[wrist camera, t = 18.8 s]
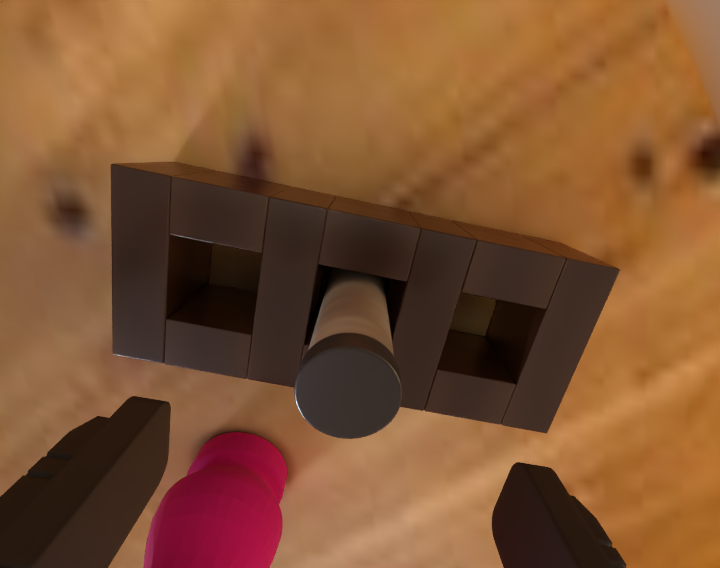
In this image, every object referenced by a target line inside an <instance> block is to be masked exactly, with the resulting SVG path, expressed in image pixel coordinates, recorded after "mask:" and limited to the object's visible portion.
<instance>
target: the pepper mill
mask: <svg viewBox="0 0 720 568" xmlns="http://www.w3.org/2000/svg"><path fill="white" fill-rule="evenodd" d="M286 479H287V467H286V463H285V461H284V458H283V456H282V455H281V453H280V451H279V450H278V449H277V448H276V447H274V446H273V445H272V444H271V443H270V442H268V441H267V440H265V439H263V438H261V437H259V436H256V435H253V434H250V433H241V432H231V433H225V434H221V435H219V436H216V437H214V438H212V439H211V440H209V441H208V442H206V443H205V444H204V445H203V446H202V448H201V449H200V451H199V453H198V454H197V456H196V458H195V460H194V461H193V463H192V465H191V467H190V469H189V471H188V473H187V476H186V477H184V478H182V479H181V480H179V481H178V482H177V483H175V484H174V485H173V486H172V487H171V488H170V489H169V490H168V492H167V493H166V494H165V496H164V497H163V499H162V501H161V503H160V505H159V507H158V509H157V511H156V513H155V515H154V517H153V519H152V523H151V527H150V530H149V534H148V538H147V543H146V550H145V557H144V568H269V567H270V565H271V563H272V561H273V559H274V556H275V553H276V550H277V547H278V544H279V541H280V538H281V533H282V514H281V510H280V507H279V503H280V501H281V499H282V495H283V491H284V487H285V483H286Z"/></svg>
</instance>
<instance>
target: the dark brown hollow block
mask: <svg viewBox="0 0 720 568" xmlns="http://www.w3.org/2000/svg"><path fill="white" fill-rule="evenodd" d="M111 230H112V328H113V354H114V355H118V356H124V357H129V358H135V359H140V360H146V361H151V362H157V363H164V364H166V365H172V366H178V367H183V368H189V369H194V370H200V371H205V372H211V373H216V374H222V375H227V376H233V377H238V378H244V379H246V378H247V379H250V380H256V381H261V382H267V383H272V384H278V385H283V386H289V387H294V388H295V382H296V378H297V375H298V371H299V368H300V365H301V362H302V360H303V358H304V356H305V354H306V353H307V352H308V349H309V346H310V342H311V339H312V335H313V332H314V328H315V325H316V322H317V318H318V315H319V311H320V308H321V305H317V301H318V296H319V290H320V285H321V279H322V274H323V268H324V265H326V266H331V267H336V268H341V269H346V270H351V271H356V272H361V273H366V274H371V275H376V276H381V277H386V278H391V279H392V280H391V284H390V288H389V292H388V296H387V300H386V304H387V311H388V317H389V324H390V331H391V338H392V345H393V352H394V357H395V359H396V361H397V364H398V367H399V371H400V377H401V383H402V401H401V405H400V407H405V408H411V409H416V410H422V411H423V410H425V411H428V412H433V413H439V414H444V415H450V416H455V417H461V418H466V419H472V420H477V421H483V422H488V423H494V424H501V425H504V426H509V427H515V428H520V429H526V430H531V431H537V432H542V433H547V432H548V430H549V428H550V425H551V423H552V421H553V419H554V416H555V414H556V412H557V410H558V407H559V405H560V403H561V401H562V398H563V396H564V394H565V392H566V390H567V387H568V385H569V383H570V381H571V378H572V376H573V374H574V372H575V369H576V367H577V365H578V363H579V361H580V358H581V356H582V354H583V352H584V349H585V347H586V345H587V343H588V340H589V338H590V336H591V334H592V331H593V329H594V327H595V325H596V323H597V320H598V318H599V316H600V314H601V311H602V309H603V307H604V305H605V302H606V300H607V298H608V296H609V293H610V291H611V289H612V287H613V285H614V282H615V280H616V278H617V276H618V273H619V271H620V269H618V268H616V267H614V266H612V265H609V264H607V263H605V262H603V261H600V260H598V259H596V258H594V257H591V256H589V255H587V254H585V253H582V252H580V251H578V250H576V249H573V248H571V247H569V246H567V245H564V244H562V243H558V242H553V241H548V240H543V239H539V238H534V237H529V236H524V235H519V234H515V233H510V232H505V231H500V230H495V229H491V228H486V227H481V226H476V225H472V224H467V223H462V222H457V221H451V220H448V219H443V218H438V217H433V216H429V215H424V214H419V213H414V212H408V211H405V210H400V209H395V208H391V207H386V206H381V205H376V204H372V203H367V202H362V201H357V200H353V199H348V198H343V197H338V196H337V197H336V196H333V195H328V194H324V193H319V192H314V191H309V190H305V189H300V188H295V187H291V186H286V185H281V184H276V183H271V182H267V181H262V180H257V179H252V178H248V177H243V176H238V175H233V174H228V173H224V172H219V171H218V172H216V171H214V170H209V169H204V168H199V167H195V166H190V165H185V164H180V163H176V162H152V163H121V164H111ZM212 243H215V244H220V245H225V246H230V247H235V248H240V249H245V250H250V251H255V252H260V253H262V260H261V268H260V276H259V284H258V292H257V293H255V292H250V291H245V290H240V289H235V288H230V287H224V286H219V285H214V284H209V271H210V258H211V245H212ZM460 292H462V293H467V294H472V295H477V296H482V297H487V298H492V299H497V300H498V302H497V305H496V308H495V311H494V314H493V317H492V319H491V322H490V325H489V328H488V331H487V334H486V337H482V336H477V335H472V334H466V333H461V332H456V331H451V330H449V328H450V325H451V321H452V318H453V315H454V312H455V308H456V305H457V302H458V299H459V295H460Z"/></svg>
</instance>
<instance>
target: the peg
mask: <svg viewBox="0 0 720 568" xmlns="http://www.w3.org/2000/svg"><path fill="white" fill-rule="evenodd" d="M294 394H295V400H296V404H297V406H298V409H299V411H300V413H301V414H302V416H303V417H304V418H305V420H306V421H307V422H308V423H309V424H310V425H312V426H313V427H314V428H315V429H317V430H319V431H320V432H322V433H325V434H327V435H330V436H333V437H337V438H345V439H353V438H361V437H366V436H369V435H372V434H374V433H376V432H378V431H380V430H381V429H383V428H384V427H385V426H387V425H388V424H389V423H390V422H391V421H392V419H393V418H394V417H395V415H396V414H397V412H398V410H399V407H400V405H401V401H402V383H401V377H400V371H399V367H398V364H397V361H396V359H395V357H394V352H393V345H392V338H391V331H390V324H389V317H388V311H387V304H386V297H385V290H384V283H383V277H381V276H376V275H371V274H366V273H361V272H356V271H351V270H346V269H341V268H336V267H333V268H332V271H331V274H330V277H329V281H328V284H327V287H326V291H325V294H324V298H323V301H322V305H321V308H320V311H319V315H318V318H317V322H316V325H315V328H314V332H313V335H312V339H311V342H310V346H309V349H308V352H307V353H306V354H305V356H304V358H303V360H302V362H301V365H300V368H299V371H298V375H297V378H296V382H295V388H294Z"/></svg>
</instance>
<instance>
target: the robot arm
mask: <svg viewBox="0 0 720 568" xmlns="http://www.w3.org/2000/svg"><path fill="white" fill-rule="evenodd" d="M170 413H171V407H170V403H169V402H166V401H160V400H154V399H148V398H143V397H137V396H132V397H130V398H129V399H128V400H126V401H125V402H124V404H123V405H122V406H121V407H120V408H119V409H118V410H117V411H116V412H115V413H114V414H113V415H112V416H111V417H110V418H106V417H100V416H97V417H95V418H93V419H92V420H90V421H88V422H86V423H84V424H83V425H81V426H79V427H77V428H75V429H73V430H72V431H70V432H69V433H68V434H67V435H65V436H64V437H63V438H62V439H61V440H60V441H59V442H58V443H57V444H56V445H55V446H54V447H53V448H52V449H51V450H50V451H49V452H48V453H47V456H46V457H42V458H41V459H40V460H39V461H38V462H37V463H36V464H35V465H34V466H33V467H32V468H31V469H29V470H28V473H27V475H26V476H22V477H21V478H20V479H19V480H18V481H17V482H16V483H15V484H14V485H13V486H11V487H10V488H9V489H8V490H7V491H6V492H5V493H4V494H3V495H2V496H1V497H0V568H108V566H109V565H110V563H111V562H112V560H113V558H114V557H115V555H116V553H117V552H118V550H119V549H120V547H121V545H122V544H123V542H124V540H125V539H126V537H127V536H128V534H129V532H130V531H131V529H132V527H133V526H134V524H135V523H136V521H137V519H138V518H139V516H140V514H141V513H142V511H143V510H144V508H145V506H146V505H147V503H148V501H149V500H150V498H151V497H152V495H153V493H154V492H155V490H156V488H157V487H158V485H159V483H160V481H161V479H162V476H163V474H164V471H165V468H166V465H167V460H168V452H169V433H170ZM492 531H493V537H494V540H495V544H496V546H497V549H498V552H499V555H500V558H501V561H502V564H503V567H504V568H626V563H625V562H624V560H623V559H622V557H621V556H620V554H619V553H618V551H617V550H616V548H613V547H612V542H611V540H610V539H609V537H608V536H607V534H606V533H605V531H604V530H603V528H602V527H601V525H600V523H599V522H598V520H597V519H596V518H595V517H594V516H593V515H592V514H591V513H590V512H589V511H588V510H587V509H586V508H585V507H584V506H583V505H582V504H581V503H580V502H579V501H578V500H577V499H576V498H575V497H574V496H571V495H569V494H568V492H567V491H566V489H565V487H564V486H563V484H562V482H561V481H560V479H559V478H558V476H557V474H556V473H555V472H554V471H553V470H552V469H551V468H549V467H543V466H537V465H531V464H525V463H520V462H517V463H515V464H514V465H513V466H512V468H511V470H510V472H509V474H508V477H507V479H506V482H505V484H504V486H503V489H502V491H501V493H500V496H499V498H498V500H497V503H496V505H495V508H494V510H493V516H492Z"/></svg>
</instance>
